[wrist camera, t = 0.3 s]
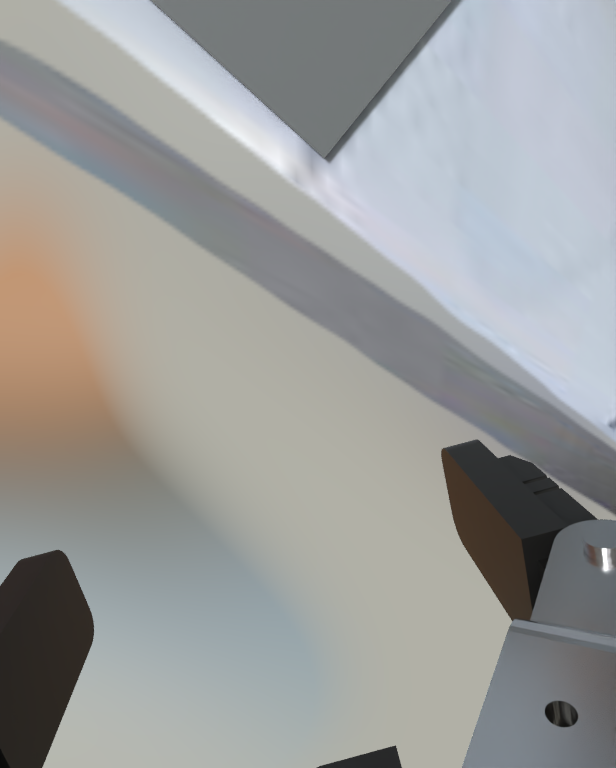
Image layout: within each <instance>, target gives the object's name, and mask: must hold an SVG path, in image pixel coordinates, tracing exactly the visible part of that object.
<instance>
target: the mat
mask: <svg viewBox="0 0 616 768" xmlns="http://www.w3.org/2000/svg"><path fill="white" fill-rule="evenodd" d="M151 1H152V2H153V3H155V4H156V5H157V6H158V7H159V8H160V9H161V10H162V11H163V12H164V13H166V14H167V15H168V16H169V17H170V18H171V19H172V20H173V21H174V22H175V23H176V24H178V25H179V26H180V27H181V28H182V29H183V30H184V31H185V32H186V33H187V34H189V35H190V36H191V37H192V38H193V39H194V40H195V41H196V42H197V43H198V44H199V45H201V46H202V47H203V48H204V49H205V50H206V51H207V52H208V53H209V54H210V55H212V56H213V57H214V58H215V59H216V60H217V61H218V62H219V63H220V64H221V65H223V66H224V67H225V68H226V69H227V70H228V71H229V72H230V73H231V74H232V75H233V76H235V77H236V78H237V79H238V80H239V81H240V82H241V83H242V84H243V85H244V86H246V87H247V88H248V89H249V90H250V91H251V92H252V93H253V94H254V95H255V96H257V97H258V98H259V99H260V100H261V101H262V102H263V103H264V104H265V105H266V106H267V107H269V108H270V109H271V110H272V111H273V112H274V113H275V114H276V115H277V116H278V117H280V118H281V119H282V120H283V121H284V122H285V123H286V124H287V125H288V126H289V127H291V128H292V129H293V130H294V131H295V132H296V133H297V134H298V135H299V136H300V137H301V138H303V139H304V140H305V141H306V142H307V143H308V144H309V145H310V146H311V147H312V148H314V149H315V150H316V151H317V152H318V153H319V154H320V155H321V156H322V157H323V158H325V157H326V156H327V154H328V153H329V152H330V151H331V149H332V148H333V147H334V146H335V145H336V143H337V142H338V141H339V140H340V138H341V137H342V136H343V135H344V133H345V132H346V131H347V130H348V128H349V127H350V126H351V125H352V123H353V122H354V121H355V120H356V119H357V117H358V116H359V115H360V114H361V112H362V111H363V110H364V109H365V107H366V106H367V105H368V104H369V102H370V101H371V100H372V99H373V97H374V96H375V95H376V94H377V92H378V91H379V90H380V89H381V88H382V86H383V85H384V84H385V83H386V81H387V80H388V79H389V78H390V76H391V75H392V74H393V73H394V71H395V70H396V69H397V68H398V66H399V65H400V64H401V63H402V62H403V60H404V59H405V58H406V57H407V55H408V54H409V53H410V52H411V50H412V49H413V48H414V47H415V45H416V44H417V43H418V42H419V40H420V39H421V38H422V37H423V36H424V34H425V33H426V32H427V31H428V29H429V28H430V27H431V26H432V24H433V23H434V22H435V21H436V19H437V18H438V17H439V16H440V14H441V13H442V12H443V11H444V9H445V8H446V7H447V6H448V5H449V3H450V2H451V1H452V0H151Z"/></svg>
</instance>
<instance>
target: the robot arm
mask: <svg viewBox="0 0 616 768" xmlns="http://www.w3.org/2000/svg"><path fill="white" fill-rule="evenodd" d="M441 457H442V463H443V468H444V473H445V478H446V483H447V489H448V494H449V500H450V505H451V510H452V515H453V519H454V523H455V526H456V529H457V532H458V535H459V537H460V539H461V541H462V543H463V545H464V547H465V548H466V550H467V551H468V553H469V554H470V556H471V557H472V559H473V561H474V562H475V564H476V565H477V567H478V568H479V570H480V571H481V573H482V575H483V576H484V578H485V579H486V581H487V582H488V584H489V586H490V587H491V588H492V590H493V592H494V593H495V595H496V596H497V598H498V600H499V601H500V603H501V604H502V606H503V607H504V609H505V610H506V612H507V613H508V615H509V616H510V618H511V620H512V623H511V625H510V627H509V630H508V632H507V635H506V638H505V641H504V644H503V647H502V650H501V653H500V656H499V659H498V662H497V665H496V668H495V671H494V674H493V677H492V680H491V683H490V686H489V689H488V692H487V695H486V698H485V701H484V704H483V706H482V709H481V712H480V715H479V718H478V721H477V724H476V727H475V730H474V733H473V736H472V739H471V742H470V745H469V748H468V751H467V754H466V757H465V760H464V763H463V766H462V768H616V521H614V520H598V519H597V518H595V517H594V516H593V515H592V514H591V513H590V512H588V511H587V510H586V509H585V508H584V507H583V506H581V505H580V504H579V503H578V502H577V501H576V500H574V499H573V498H572V497H571V496H570V495H569V494H568V493H566V492H565V491H564V490H563V489H562V488H561V489H559V486H558V485H557V484H556V483H555V482H554V481H552V480H551V479H550V478H547V476H546V475H545V474H544V473H543V472H542V471H541V470H540V469H538V468H537V467H536V466H535V465H534V464H533V463H531V462H528V461H525V460H522V459H519V458H516V457H514V456H511V455H509V456H505V457H501V458H497V457H496V456H495V455H494V454H493V453H492V452H491V451H490V450H488V449H487V448H486V447H485V446H484V445H483V444H482V443H481V442H480V441H479V440H473V441H469V442H465V443H462V444H458V445H454V446H450V447H447V448H443V449H442V451H441ZM93 636H94V624H93V618H92V614H91V611H90V608H89V606H88V604H87V601H86V599H85V597H84V594H83V592H82V590H81V587H80V585H79V583H78V580H77V578H76V576H75V573H74V571H73V569H72V566H71V564H70V562H69V560H68V558H67V556H66V555H65V554H64V553H63V552H62V551H60V550H55V551H51V552H47V553H44V554H40V555H36V556H33V557H28V558H25V559H21V560H20V561H18V563H17V564H16V565H15V566H14V568H13V569H12V571H11V572H10V573H9V575H8V576H7V578H6V579H5V580H4V582H3V583H2V584H1V586H0V768H42V767H43V764H44V762H45V760H46V757H47V754H48V752H49V750H50V747H51V744H52V742H53V740H54V737H55V734H56V732H57V730H58V727H59V725H60V722H61V720H62V717H63V715H64V712H65V710H66V707H67V705H68V702H69V700H70V697H71V695H72V692H73V690H74V687H75V685H76V682H77V680H78V677H79V675H80V673H81V670H82V668H83V665H84V663H85V660H86V658H87V655H88V653H89V650H90V647H91V645H92V642H93ZM317 768H402V767H401V764H400V760H399V756H398V752H397V748H396V746H392V747H388V748H385V749H382V750H377V751H374V752H370V753H367V754H363V755H359V756H356V757H352V758H348V759H345V760H341V761H337V762H334V763H330V764H326V765H323V766H319V767H317Z"/></svg>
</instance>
